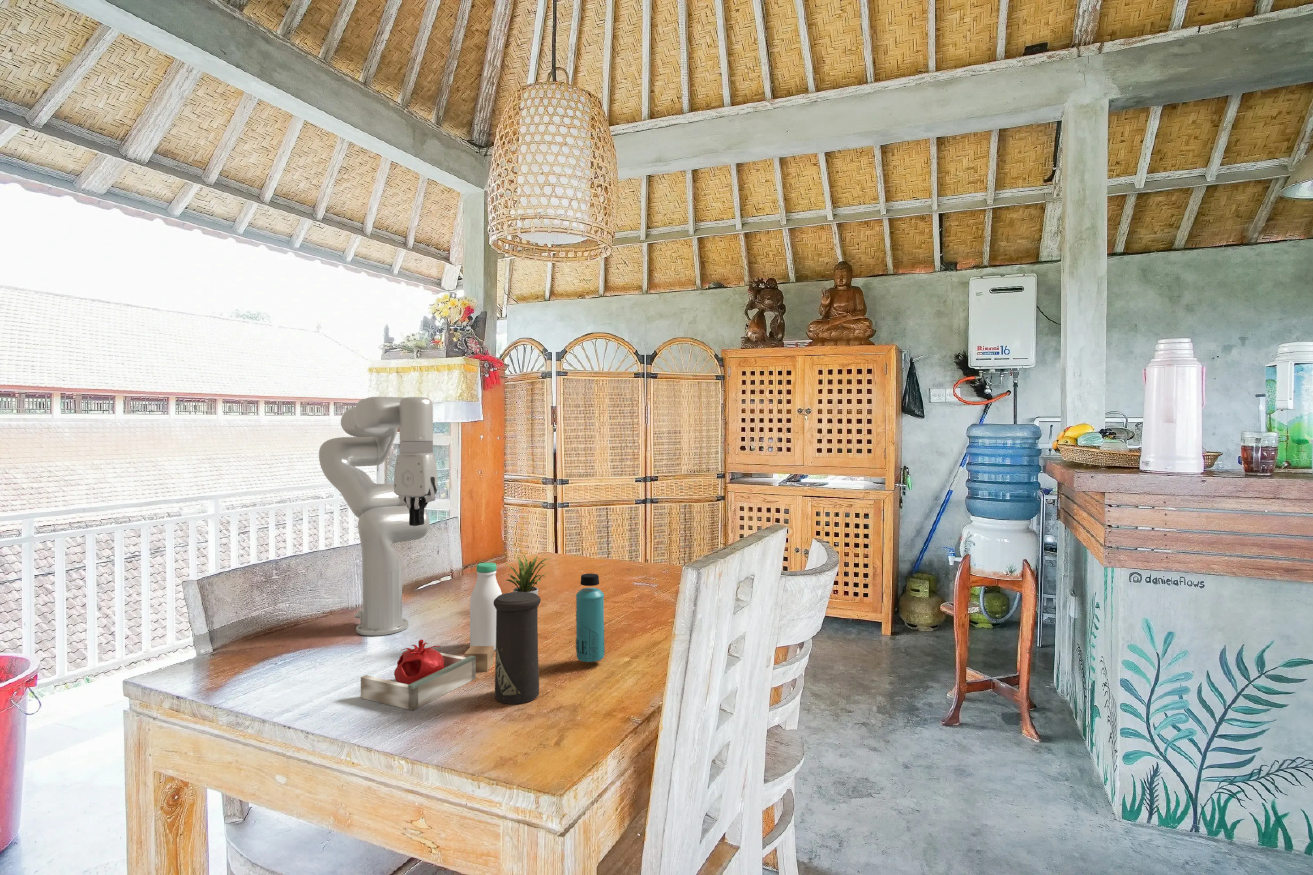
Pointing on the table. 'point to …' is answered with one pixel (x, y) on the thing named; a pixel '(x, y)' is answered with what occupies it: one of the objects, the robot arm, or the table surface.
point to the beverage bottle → (590, 620)
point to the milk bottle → (484, 607)
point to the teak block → (482, 657)
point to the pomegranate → (418, 663)
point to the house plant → (526, 576)
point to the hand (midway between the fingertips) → (416, 524)
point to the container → (516, 647)
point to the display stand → (421, 684)
